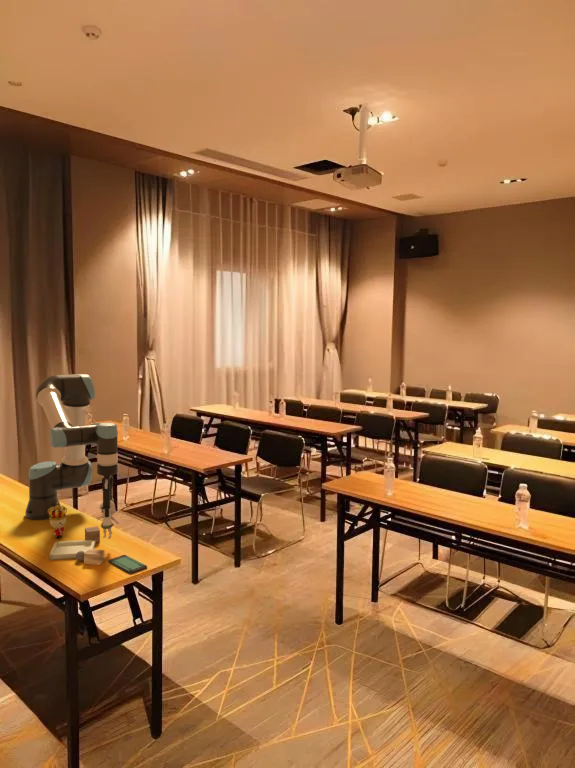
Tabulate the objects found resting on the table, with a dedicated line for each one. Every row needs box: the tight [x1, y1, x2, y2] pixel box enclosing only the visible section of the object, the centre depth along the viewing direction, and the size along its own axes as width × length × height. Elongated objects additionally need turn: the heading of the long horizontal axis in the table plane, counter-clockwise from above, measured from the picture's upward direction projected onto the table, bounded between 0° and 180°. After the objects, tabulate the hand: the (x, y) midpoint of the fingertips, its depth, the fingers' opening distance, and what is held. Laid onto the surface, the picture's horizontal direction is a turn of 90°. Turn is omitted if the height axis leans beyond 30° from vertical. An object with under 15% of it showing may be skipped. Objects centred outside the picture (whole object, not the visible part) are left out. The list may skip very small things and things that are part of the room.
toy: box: [48, 501, 68, 539], centre depth 232 cm, size 7×7×15 cm
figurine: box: [96, 500, 120, 540], centre depth 222 cm, size 10×6×15 cm, turn 70°
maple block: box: [83, 548, 106, 566], centre depth 210 cm, size 4×6×4 cm, turn 84°
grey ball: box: [75, 551, 85, 562], centre depth 211 cm, size 4×4×4 cm
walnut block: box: [84, 525, 101, 544], centre depth 230 cm, size 5×5×5 cm
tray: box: [48, 539, 96, 561], centre depth 219 cm, size 13×15×2 cm
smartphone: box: [107, 554, 148, 575], centre depth 208 cm, size 7×1×15 cm
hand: (107, 521), depth 222 cm, fingers closed on figurine, 6 cm apart
